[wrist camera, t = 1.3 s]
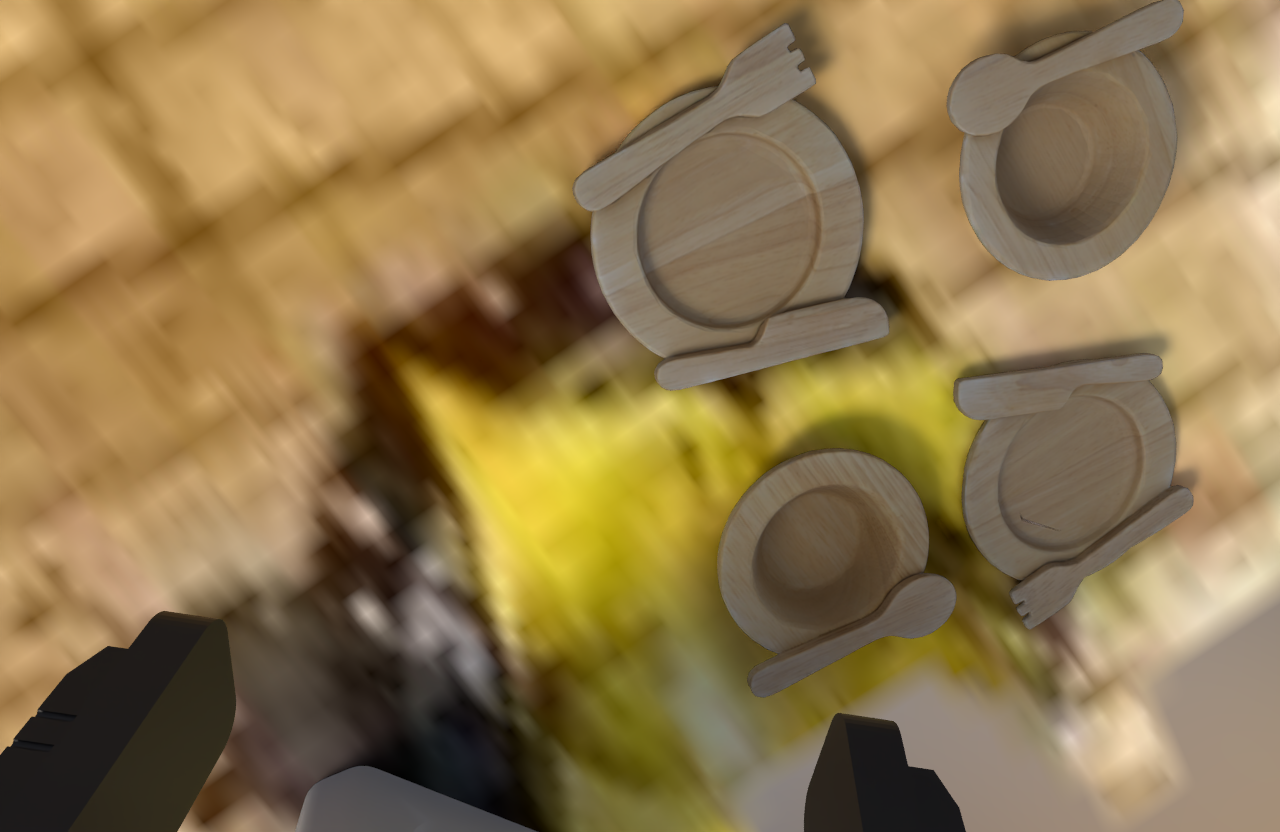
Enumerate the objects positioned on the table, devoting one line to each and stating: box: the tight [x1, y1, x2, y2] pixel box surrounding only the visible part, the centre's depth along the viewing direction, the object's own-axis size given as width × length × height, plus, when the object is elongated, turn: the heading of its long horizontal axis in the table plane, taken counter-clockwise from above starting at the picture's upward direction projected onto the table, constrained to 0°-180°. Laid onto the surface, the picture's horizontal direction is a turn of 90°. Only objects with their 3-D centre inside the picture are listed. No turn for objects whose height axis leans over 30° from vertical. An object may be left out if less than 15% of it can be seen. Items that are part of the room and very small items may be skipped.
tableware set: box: [573, 0, 1193, 697], centre depth 46 cm, size 35×29×4 cm
